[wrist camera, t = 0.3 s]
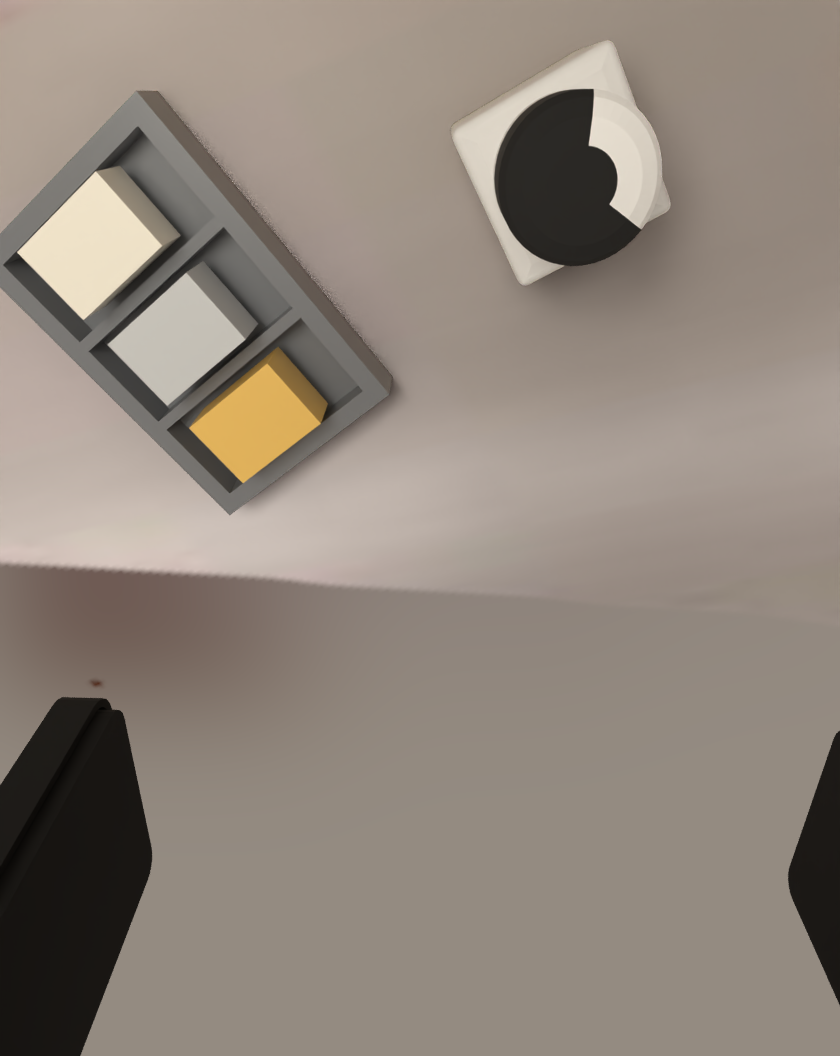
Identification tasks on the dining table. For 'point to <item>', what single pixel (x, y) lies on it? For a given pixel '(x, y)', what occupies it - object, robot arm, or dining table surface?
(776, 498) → the dining table surface
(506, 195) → the medicine bottle
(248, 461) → the yellow rectangular block
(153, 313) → the key grey
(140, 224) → the key cream
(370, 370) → the keypad frame
